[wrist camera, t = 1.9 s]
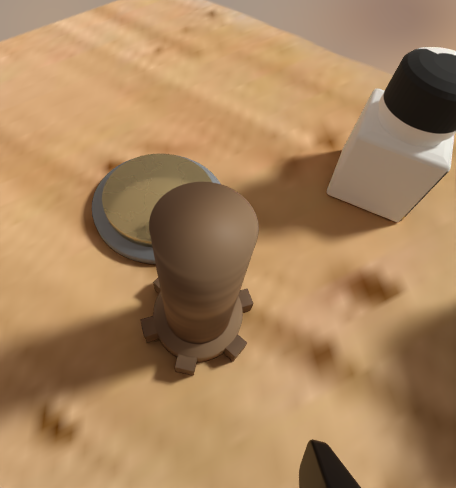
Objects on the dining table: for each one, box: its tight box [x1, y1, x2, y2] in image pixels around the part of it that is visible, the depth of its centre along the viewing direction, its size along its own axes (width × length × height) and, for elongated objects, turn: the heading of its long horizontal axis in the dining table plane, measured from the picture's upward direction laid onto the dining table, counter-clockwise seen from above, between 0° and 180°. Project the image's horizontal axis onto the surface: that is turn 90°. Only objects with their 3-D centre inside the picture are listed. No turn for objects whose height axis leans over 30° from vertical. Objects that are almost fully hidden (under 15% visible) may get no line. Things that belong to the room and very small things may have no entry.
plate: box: [92, 156, 220, 264], centre depth 28 cm, size 11×11×1 cm
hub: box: [102, 154, 213, 248], centre depth 27 cm, size 9×9×1 cm
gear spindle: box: [141, 182, 259, 375], centre depth 18 cm, size 8×7×12 cm
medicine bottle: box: [327, 47, 456, 222], centre depth 27 cm, size 7×7×12 cm
